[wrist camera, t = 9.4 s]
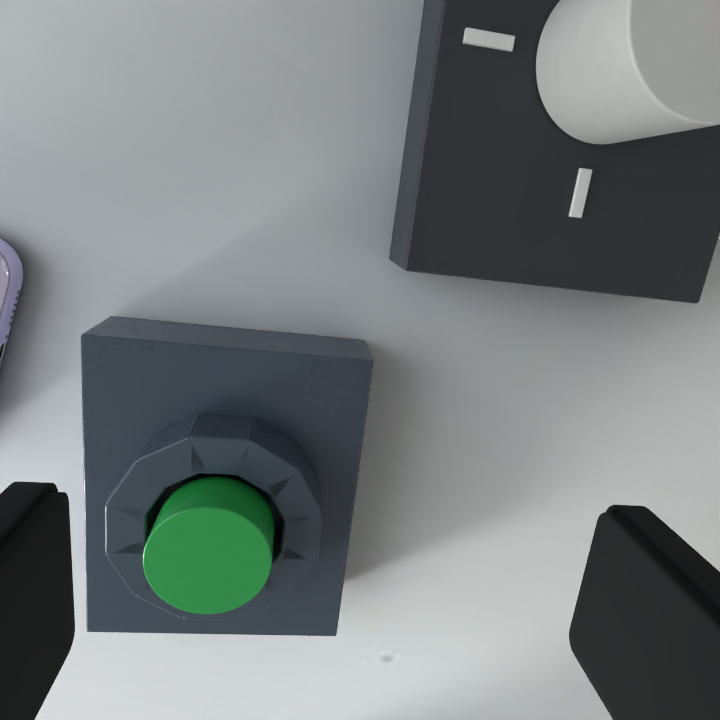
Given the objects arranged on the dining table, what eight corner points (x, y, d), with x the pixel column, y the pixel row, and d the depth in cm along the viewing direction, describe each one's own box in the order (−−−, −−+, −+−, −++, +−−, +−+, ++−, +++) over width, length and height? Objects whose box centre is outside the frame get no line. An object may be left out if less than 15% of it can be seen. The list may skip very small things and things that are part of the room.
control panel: (449, -188, 16) (485, -280, 13) (753, -116, 17) (850, -183, 14) (388, 259, 19) (405, 271, 16) (644, 289, 21) (702, 305, 18)
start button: (158, 472, 16) (142, 503, 15) (278, 479, 17) (276, 510, 15) (156, 573, 17) (141, 613, 16) (270, 577, 18) (267, 616, 16)
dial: (520, 132, 16) (612, 105, 11) (554, -44, 14) (673, -157, 10) (658, 154, 16) (800, 137, 12) (702, -13, 15) (879, -106, 10)
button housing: (109, 315, 19) (54, 350, 14) (364, 339, 20) (381, 378, 16) (111, 581, 22) (64, 675, 17) (332, 588, 23) (339, 676, 19)
